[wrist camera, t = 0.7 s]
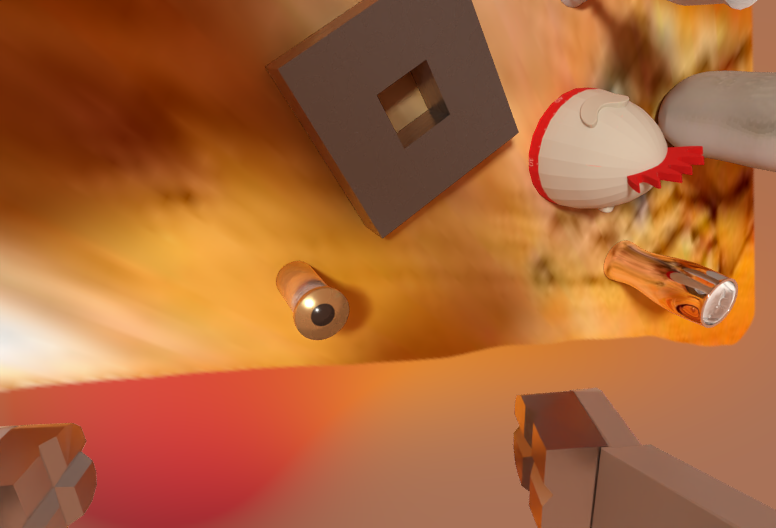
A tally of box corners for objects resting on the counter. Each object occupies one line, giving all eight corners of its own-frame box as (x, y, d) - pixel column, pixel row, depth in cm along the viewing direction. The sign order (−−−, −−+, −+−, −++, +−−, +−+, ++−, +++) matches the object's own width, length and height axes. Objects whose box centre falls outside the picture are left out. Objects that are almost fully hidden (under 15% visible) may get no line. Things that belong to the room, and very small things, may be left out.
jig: (264, 66, 43) (277, 69, 39) (428, -45, 45) (453, -51, 42) (365, 226, 53) (382, 238, 49) (494, 127, 55) (518, 132, 52)
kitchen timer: (620, 167, 67) (735, 196, 55) (542, 223, 64) (644, 266, 52) (605, 65, 60) (734, 73, 47) (516, 124, 57) (628, 147, 45)
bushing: (261, 277, 50) (284, 314, 43) (302, 246, 50) (331, 278, 44) (289, 311, 52) (315, 350, 46) (327, 281, 53) (359, 315, 47)
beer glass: (593, 274, 72) (692, 322, 60) (617, 230, 71) (723, 270, 59) (619, 286, 76) (717, 334, 64) (642, 245, 75) (746, 285, 63)
